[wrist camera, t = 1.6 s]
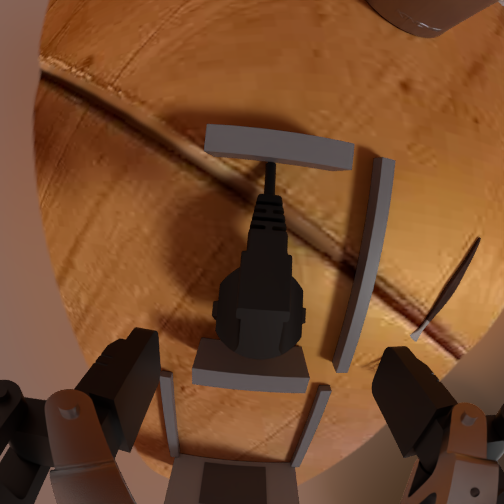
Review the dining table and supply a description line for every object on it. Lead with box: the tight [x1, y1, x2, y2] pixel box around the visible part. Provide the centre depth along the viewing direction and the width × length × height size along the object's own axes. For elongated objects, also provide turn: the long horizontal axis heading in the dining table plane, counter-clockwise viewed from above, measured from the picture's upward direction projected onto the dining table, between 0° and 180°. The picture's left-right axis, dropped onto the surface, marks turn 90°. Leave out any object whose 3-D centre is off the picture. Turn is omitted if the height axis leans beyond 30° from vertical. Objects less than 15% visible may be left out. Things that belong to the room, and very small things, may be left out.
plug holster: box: [192, 124, 395, 393], centre depth 18 cm, size 17×12×4 cm
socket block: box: [160, 371, 331, 504], centre depth 20 cm, size 18×15×9 cm
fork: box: [410, 237, 481, 341], centre depth 20 cm, size 3×16×2 cm, turn 147°
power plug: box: [212, 162, 306, 360], centre depth 19 cm, size 6×8×12 cm
